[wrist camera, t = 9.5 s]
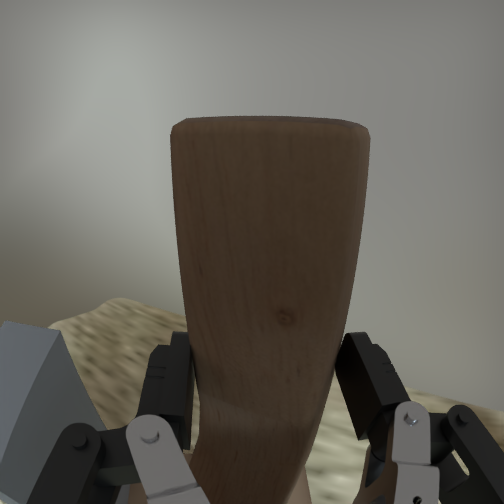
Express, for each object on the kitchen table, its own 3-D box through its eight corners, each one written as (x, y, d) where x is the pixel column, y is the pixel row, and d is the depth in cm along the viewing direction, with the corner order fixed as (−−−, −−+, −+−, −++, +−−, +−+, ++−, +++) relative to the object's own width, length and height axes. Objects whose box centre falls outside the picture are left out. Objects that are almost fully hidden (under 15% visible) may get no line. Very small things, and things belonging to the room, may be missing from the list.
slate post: (132, 469, 21) (60, 330, 13) (123, 552, 13) (-7, 486, 5) (93, 461, 21) (5, 320, 12) (79, 540, 13) (-66, 447, 4)
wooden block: (252, 567, 9) (267, 93, 1) (174, 533, 10) (-19, 151, 3) (311, 448, 16) (371, 125, 9) (247, 428, 18) (244, 118, 10)
